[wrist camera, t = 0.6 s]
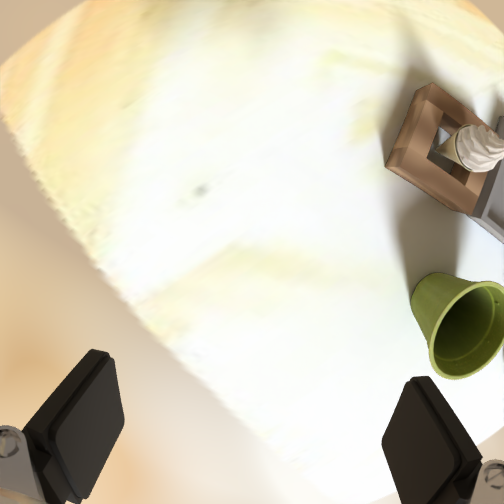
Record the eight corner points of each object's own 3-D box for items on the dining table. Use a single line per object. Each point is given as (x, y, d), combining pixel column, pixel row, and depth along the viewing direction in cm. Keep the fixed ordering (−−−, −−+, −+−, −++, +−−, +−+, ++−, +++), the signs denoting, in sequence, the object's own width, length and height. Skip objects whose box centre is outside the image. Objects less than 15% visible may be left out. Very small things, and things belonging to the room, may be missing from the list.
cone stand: (416, 90, 32) (432, 82, 28) (479, 137, 33) (499, 135, 29) (384, 167, 35) (399, 166, 30) (452, 210, 36) (471, 215, 31)
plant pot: (435, 236, 37) (485, 258, 26) (477, 289, 38) (524, 320, 27) (376, 305, 39) (409, 348, 28) (424, 350, 40) (459, 394, 29)
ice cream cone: (413, 153, 34) (488, 147, 20) (431, 122, 33) (507, 105, 19) (441, 178, 35) (519, 186, 20) (458, 148, 34) (536, 145, 19)
